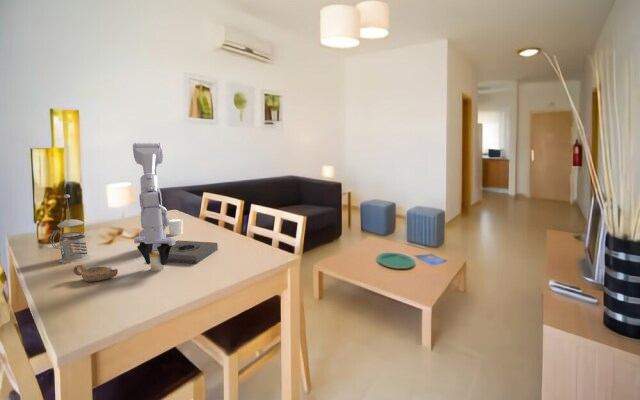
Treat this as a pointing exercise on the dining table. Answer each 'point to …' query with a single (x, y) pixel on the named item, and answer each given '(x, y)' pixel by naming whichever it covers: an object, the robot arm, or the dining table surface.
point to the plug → (155, 261)
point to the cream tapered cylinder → (175, 226)
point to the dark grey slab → (191, 251)
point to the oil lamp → (95, 273)
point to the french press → (75, 239)
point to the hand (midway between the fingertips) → (156, 263)
